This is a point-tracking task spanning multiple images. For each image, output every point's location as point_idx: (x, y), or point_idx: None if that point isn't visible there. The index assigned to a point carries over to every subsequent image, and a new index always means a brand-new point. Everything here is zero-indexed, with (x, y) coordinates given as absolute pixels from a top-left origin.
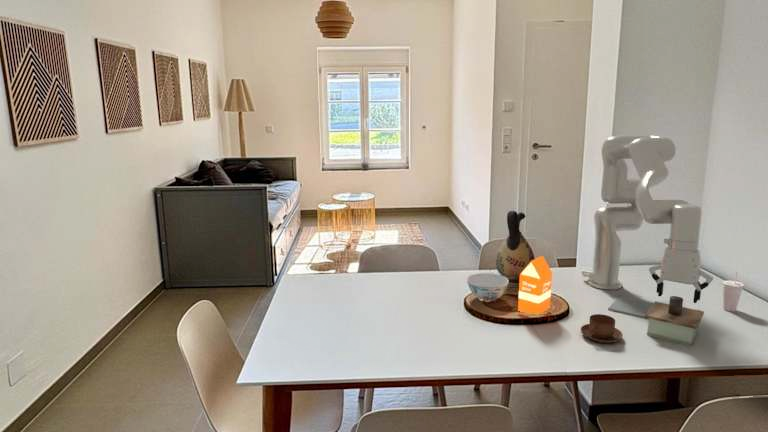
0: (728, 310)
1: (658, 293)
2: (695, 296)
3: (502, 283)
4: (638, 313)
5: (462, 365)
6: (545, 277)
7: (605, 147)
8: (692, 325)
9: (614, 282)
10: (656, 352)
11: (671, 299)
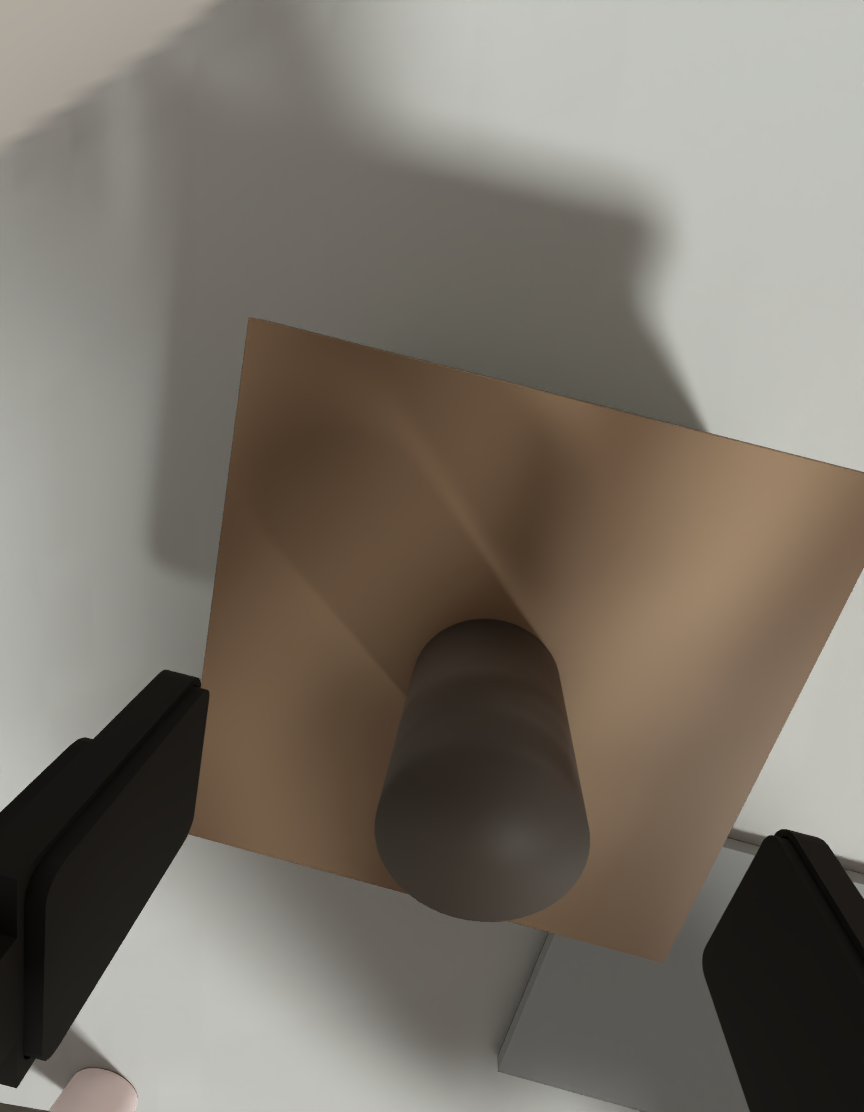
0: (106, 1075)
1: (847, 879)
2: (105, 751)
3: None
4: (732, 879)
5: None
6: None
7: None
8: (299, 339)
9: None
10: (701, 21)
11: (570, 778)
